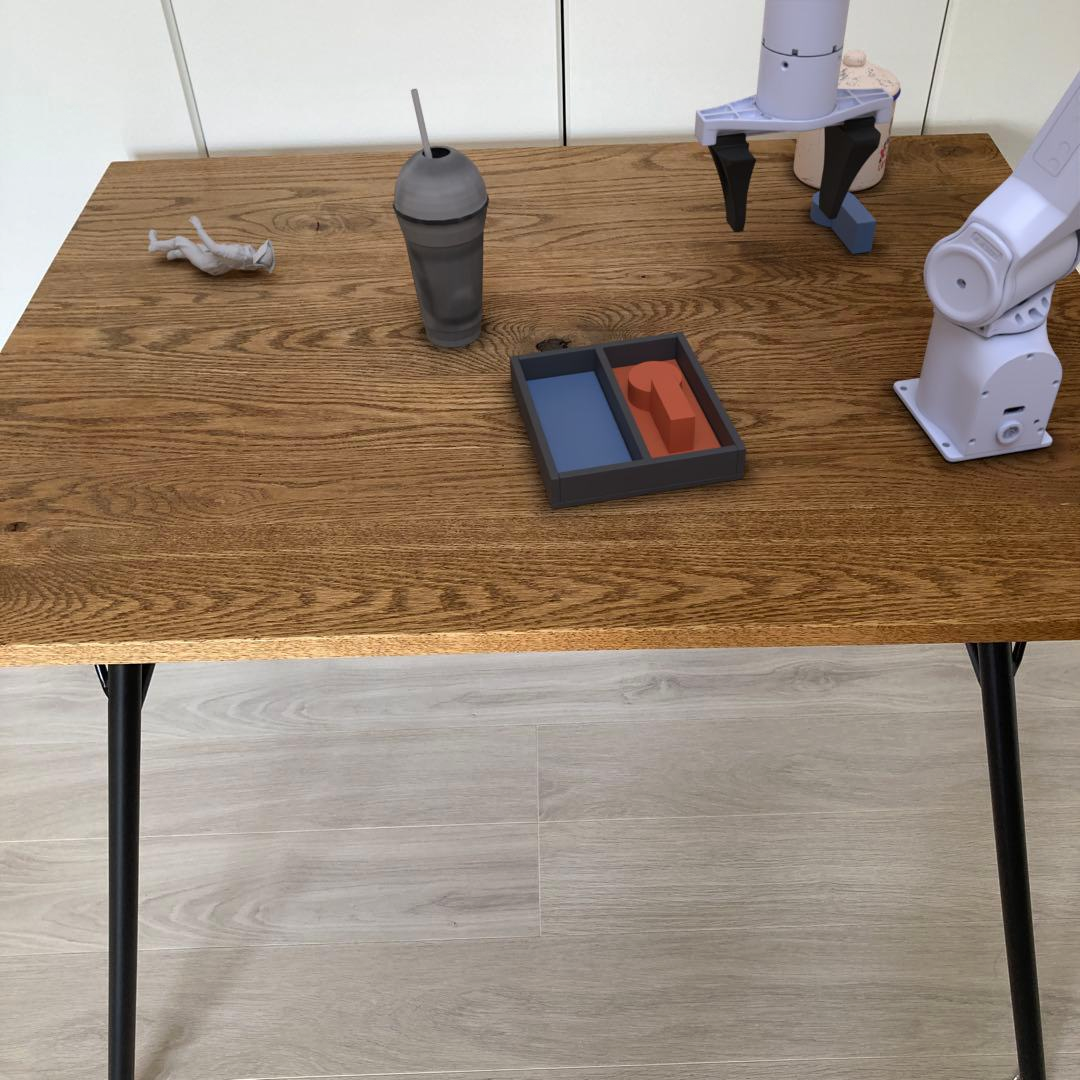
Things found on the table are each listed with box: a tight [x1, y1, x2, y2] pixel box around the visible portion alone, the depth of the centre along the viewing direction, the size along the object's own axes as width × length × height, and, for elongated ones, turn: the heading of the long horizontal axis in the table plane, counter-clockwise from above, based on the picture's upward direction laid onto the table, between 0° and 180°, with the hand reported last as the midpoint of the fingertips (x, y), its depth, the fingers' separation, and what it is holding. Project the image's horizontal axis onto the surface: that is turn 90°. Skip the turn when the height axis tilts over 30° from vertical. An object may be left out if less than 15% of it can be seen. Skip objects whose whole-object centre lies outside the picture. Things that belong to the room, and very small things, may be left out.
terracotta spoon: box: [628, 361, 695, 453], centre depth 85 cm, size 9×4×3 cm, turn 12°
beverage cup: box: [392, 88, 490, 348], centre depth 90 cm, size 7×7×20 cm
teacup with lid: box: [793, 49, 902, 193], centre depth 113 cm, size 12×9×12 cm
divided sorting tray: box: [509, 331, 747, 510], centre depth 86 cm, size 15×14×3 cm
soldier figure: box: [148, 215, 276, 276], centre depth 104 cm, size 8×5×12 cm
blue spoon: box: [809, 190, 877, 255], centre depth 106 cm, size 9×4×3 cm, turn 12°
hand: (781, 219), depth 92 cm, fingers open, 7 cm apart
